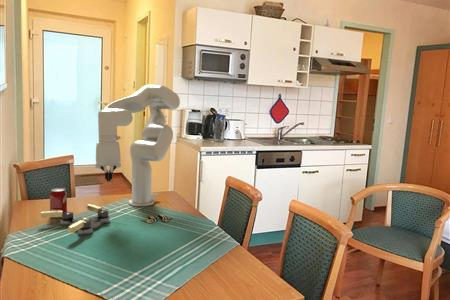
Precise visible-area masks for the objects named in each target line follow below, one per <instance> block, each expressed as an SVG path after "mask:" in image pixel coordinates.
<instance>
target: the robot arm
mask: <svg viewBox="0 0 450 300" xmlns="http://www.w3.org/2000/svg"><path fill="white" fill-rule="evenodd" d="M180 104H181V100H180V96H179V95H178V94H177V92H175V91H173V89H171V88H169V87H167V86H165V85H159V84H146V85H143V86H142V87H141V88H140V89H138V90H137V91H135V92H133V94H131V95H129V96H127V97H123V98H121V99H118V100H115V101H113V102H111V103H109V104H108V105H107V106H105V107H104V108H103V109H101V110H99V111H98V113H97V117H98V118H97V121H98V123H97V126H98V130H97V131H98V141H97V142H96V147H95V167H94V168H95V169H99V170H101V171H103V172H104V179H105V180H106V182H112V180H113V172H114V171H115V170H116V169H119V168H122V165H121V164H122V163H121V162H122V161H121V160H122V159H121V148H120V141H119V140H121V136H120V135H118V127H127V126H129V125H130V124H131V123H132V122H133V118H134V117H133V114H135V113H139V112H142V111H143V110H145V109H146V108H147V107H149V117H148V120H147V121H146V124H145V125H144V127H143V130H142V132H141V139H142V140H136V141H133V142H132V143H131V144H130V147H129V153H130V159H131V199H129V200H128V204H129V205H130V206H132V207H133V206H134V207H149V206H152V205H154V203H155V200H154V198H159V193H158V192H157V193H153V192H152V175H153V174H152V171H153V169H152V165H151V163H150V162H156V163H157V162H161V161H162V160H164V158H165V156H166V154H167V152H168V150H169V148H170V147H171V144H172V141H173V138H174V130H173V129H172V127H171V126H170V125H167V124H166V117H165V114H164V112H163V110H171V111H173V110H177V109H178V108H179V107H180ZM107 166H109V169H108V168H107ZM108 170H109V171H108Z"/></svg>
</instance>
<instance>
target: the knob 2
mask: <svg viewBox="0 0 450 300" xmlns="http://www.w3.org/2000/svg"><path fill="white" fill-rule="evenodd" d="M85 207H86V209H87V210H88V211H91V212H94V213H95V214H97V216H98V218H100V219H104V218H108V216H109V210H108V209H102V207H101V206H97V205H95V204H90V203H89V204H87V205H86V206H85Z"/></svg>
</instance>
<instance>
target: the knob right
mask: <svg viewBox="0 0 450 300" xmlns="http://www.w3.org/2000/svg"><path fill="white" fill-rule="evenodd" d="M38 216H39V217H40V218H41V219H43V218H45V219H46V218H53V217H61V219H62V220H63V221H70V220H73V218H74V212H72V211H67V212H64V213H63V212H62V211H50V210H47V211H40V212H39V214H38Z"/></svg>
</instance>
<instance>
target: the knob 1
mask: <svg viewBox="0 0 450 300" xmlns="http://www.w3.org/2000/svg"><path fill="white" fill-rule="evenodd" d="M90 228H91V221H90V220H82V221H81V220H80V221H78V222H76V223H75V224H73V225H71V226H68V228H67V232H68V233H69V234H71V233H72V234H73V233H76V232H78V231H77V230H78V229H81V230H86V229H90Z"/></svg>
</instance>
